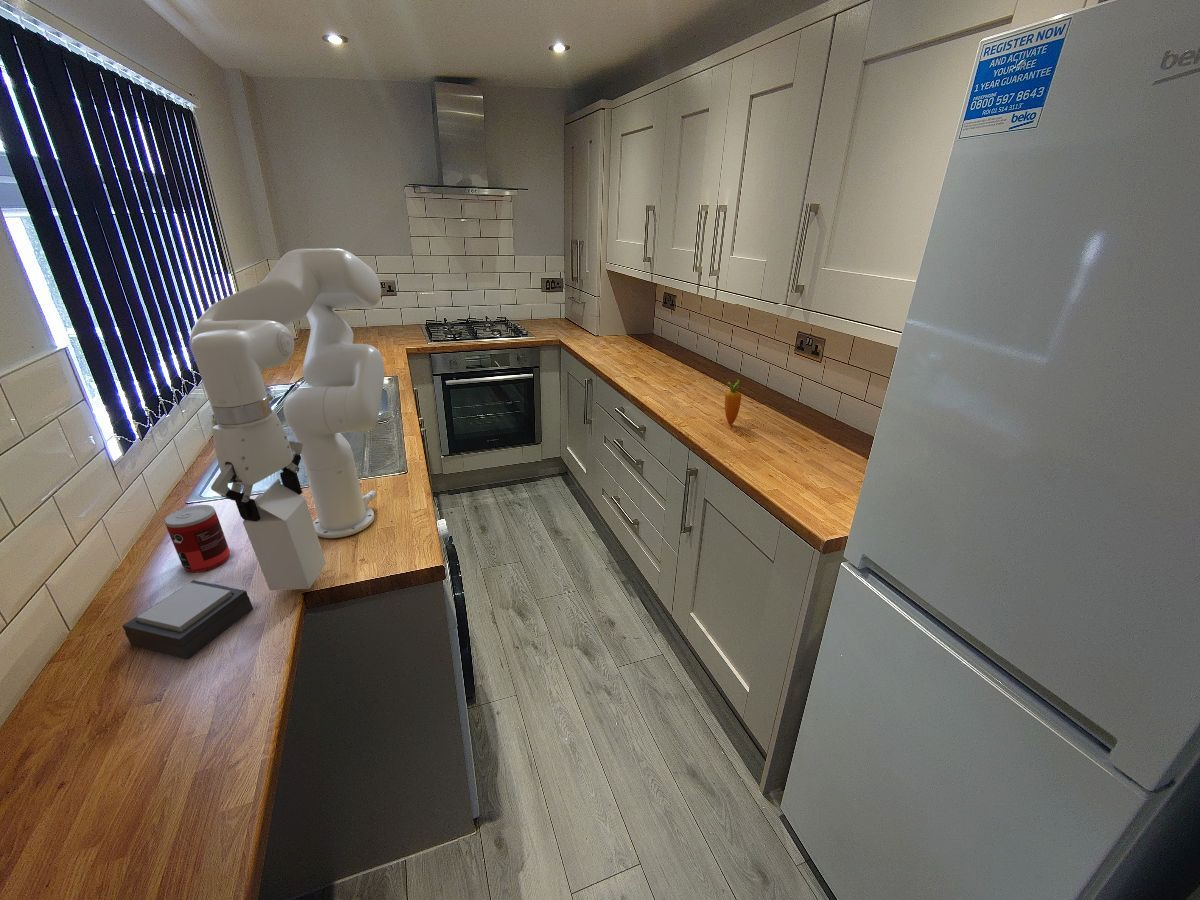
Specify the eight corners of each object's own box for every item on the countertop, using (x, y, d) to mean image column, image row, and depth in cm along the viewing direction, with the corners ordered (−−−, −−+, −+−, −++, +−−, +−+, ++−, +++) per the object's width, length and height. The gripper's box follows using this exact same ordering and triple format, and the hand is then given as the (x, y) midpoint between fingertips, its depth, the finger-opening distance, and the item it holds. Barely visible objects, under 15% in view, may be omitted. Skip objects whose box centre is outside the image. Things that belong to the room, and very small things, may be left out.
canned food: (189, 556, 107) (170, 509, 103) (234, 546, 110) (218, 501, 105) (178, 577, 101) (158, 528, 96) (227, 567, 103) (209, 519, 99)
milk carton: (326, 564, 100) (299, 478, 91) (309, 590, 94) (278, 500, 85) (289, 565, 100) (258, 479, 91) (269, 591, 94) (233, 501, 85)
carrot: (723, 427, 168) (726, 382, 162) (722, 422, 172) (726, 377, 166) (739, 428, 167) (743, 382, 161) (737, 422, 172) (742, 378, 166)
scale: (200, 597, 95) (193, 579, 93) (253, 608, 92) (246, 590, 90) (130, 645, 84) (121, 625, 83) (187, 659, 82) (179, 639, 80)
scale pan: (193, 589, 92) (190, 582, 91) (233, 597, 90) (230, 590, 89) (139, 624, 84) (136, 617, 83) (182, 634, 82) (179, 627, 81)
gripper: (269, 391, 91) (295, 480, 98) (170, 429, 76) (210, 530, 83) (304, 395, 89) (328, 484, 96) (211, 434, 74) (248, 537, 81)
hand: (273, 505), depth 90 cm, fingers closed on milk carton, 8 cm apart
